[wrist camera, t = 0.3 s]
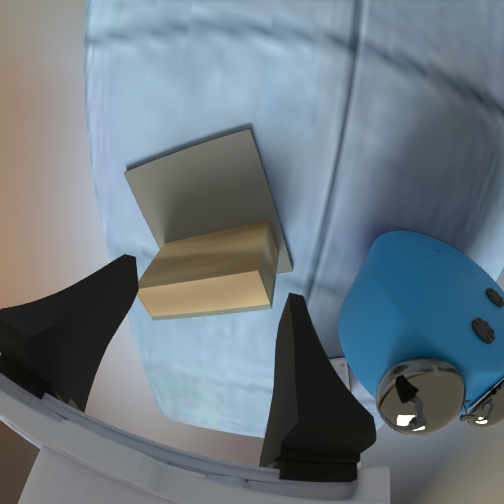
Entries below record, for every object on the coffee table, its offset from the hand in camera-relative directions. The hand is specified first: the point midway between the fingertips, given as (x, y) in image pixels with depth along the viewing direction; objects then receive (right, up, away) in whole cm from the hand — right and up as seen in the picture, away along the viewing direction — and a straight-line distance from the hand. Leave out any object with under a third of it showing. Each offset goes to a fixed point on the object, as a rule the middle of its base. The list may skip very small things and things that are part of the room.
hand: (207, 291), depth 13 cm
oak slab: (-1, +2, +10) cm, 11 cm away
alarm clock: (+15, +1, +9) cm, 18 cm away
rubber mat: (-1, +4, +9) cm, 10 cm away
